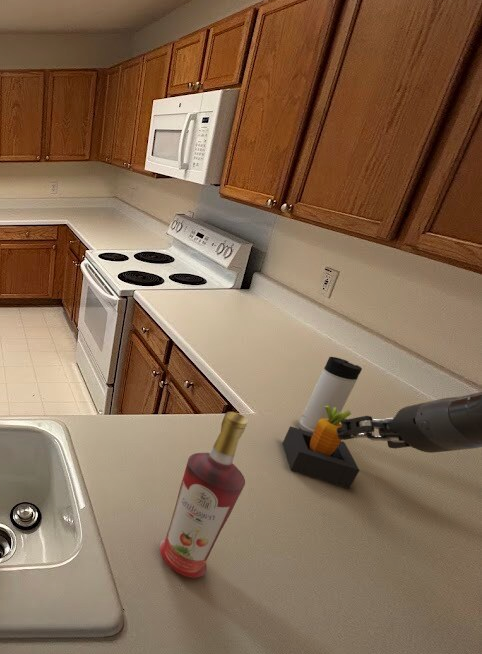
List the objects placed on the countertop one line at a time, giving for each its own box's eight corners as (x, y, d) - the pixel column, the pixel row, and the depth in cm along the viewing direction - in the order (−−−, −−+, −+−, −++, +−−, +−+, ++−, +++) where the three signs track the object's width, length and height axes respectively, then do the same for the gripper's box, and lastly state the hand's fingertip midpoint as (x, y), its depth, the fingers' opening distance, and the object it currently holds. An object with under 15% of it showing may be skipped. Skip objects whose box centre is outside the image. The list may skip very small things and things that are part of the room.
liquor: (212, 564, 66) (274, 420, 55) (195, 594, 61) (260, 443, 50) (167, 534, 70) (216, 396, 60) (148, 559, 66) (198, 414, 55)
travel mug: (291, 424, 105) (322, 355, 97) (309, 421, 107) (341, 353, 99) (316, 440, 99) (351, 368, 92) (334, 436, 101) (370, 366, 94)
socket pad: (335, 459, 93) (344, 441, 91) (349, 489, 84) (359, 470, 83) (282, 443, 97) (290, 426, 95) (290, 470, 88) (299, 451, 87)
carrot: (294, 459, 92) (320, 403, 86) (308, 455, 94) (335, 399, 88) (317, 475, 88) (346, 417, 82) (332, 470, 89) (361, 413, 84)
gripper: (492, 409, 64) (402, 425, 79) (389, 393, 66) (320, 412, 81) (506, 458, 61) (410, 466, 76) (399, 440, 63) (325, 451, 78)
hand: (364, 438), depth 78 cm, fingers open, 8 cm apart
